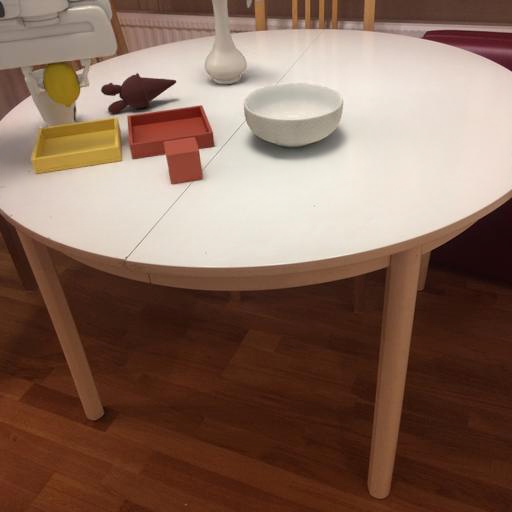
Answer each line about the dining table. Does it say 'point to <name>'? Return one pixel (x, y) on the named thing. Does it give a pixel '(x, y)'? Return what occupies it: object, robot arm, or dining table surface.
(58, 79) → the lemon
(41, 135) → the yellow tray
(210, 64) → the flower vase
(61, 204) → the dining table surface
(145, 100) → the icecream
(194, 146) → the red block
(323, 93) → the cereal bowl
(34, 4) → the robot arm
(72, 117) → the cup
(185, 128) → the red tray
